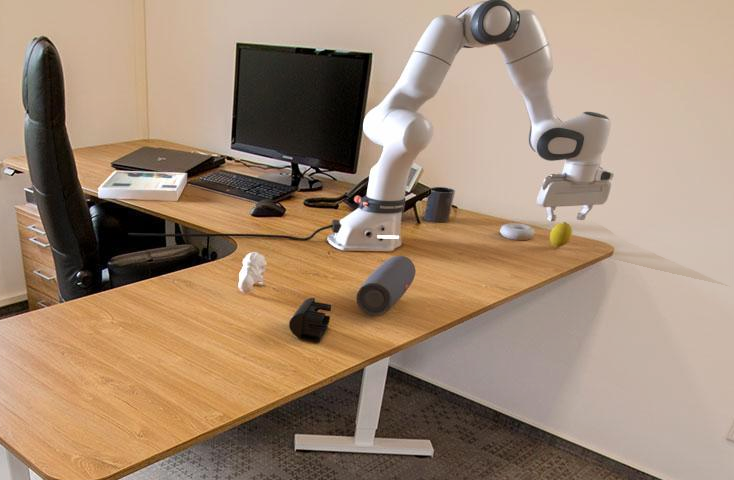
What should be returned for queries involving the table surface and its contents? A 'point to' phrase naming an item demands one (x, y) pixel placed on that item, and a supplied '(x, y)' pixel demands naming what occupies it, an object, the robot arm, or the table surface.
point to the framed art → (143, 185)
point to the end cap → (310, 321)
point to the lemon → (560, 234)
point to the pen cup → (439, 204)
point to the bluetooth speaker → (386, 285)
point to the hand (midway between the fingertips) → (565, 220)
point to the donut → (517, 231)
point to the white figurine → (252, 271)
